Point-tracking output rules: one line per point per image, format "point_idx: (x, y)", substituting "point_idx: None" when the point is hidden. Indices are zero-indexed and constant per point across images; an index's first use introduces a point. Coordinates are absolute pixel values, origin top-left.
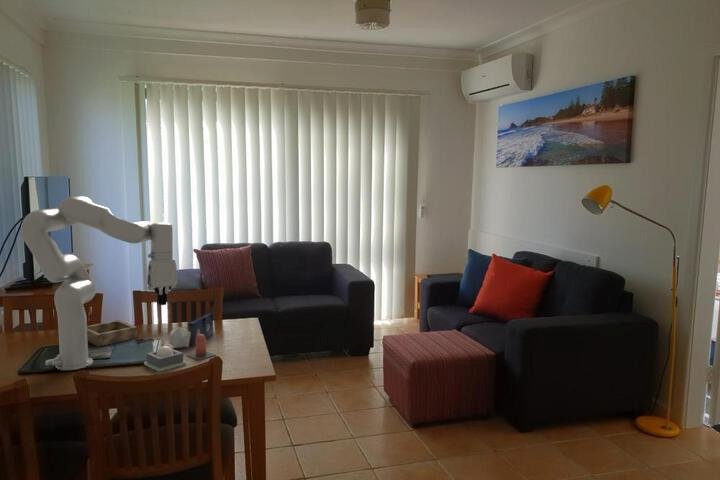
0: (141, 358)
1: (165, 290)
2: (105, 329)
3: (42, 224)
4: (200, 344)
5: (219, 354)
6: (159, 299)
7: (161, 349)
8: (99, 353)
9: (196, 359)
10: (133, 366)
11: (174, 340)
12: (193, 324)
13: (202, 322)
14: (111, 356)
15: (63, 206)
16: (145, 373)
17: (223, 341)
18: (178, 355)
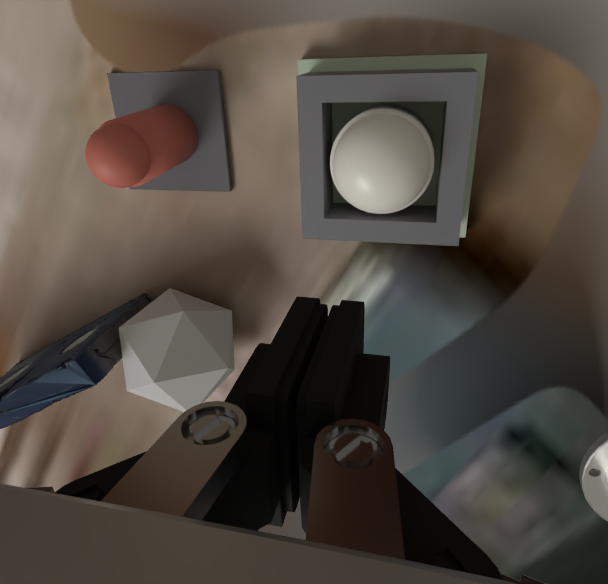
0: (413, 325)
1: (220, 473)
2: None
3: None
4: (148, 122)
5: (85, 80)
6: (385, 386)
7: (410, 160)
8: (496, 505)
9: (220, 88)
10: (517, 250)
11: (220, 333)
12: (75, 356)
13: (19, 382)
14: (488, 443)
15: None
16: (557, 87)
17: (6, 253)
18: (332, 74)
